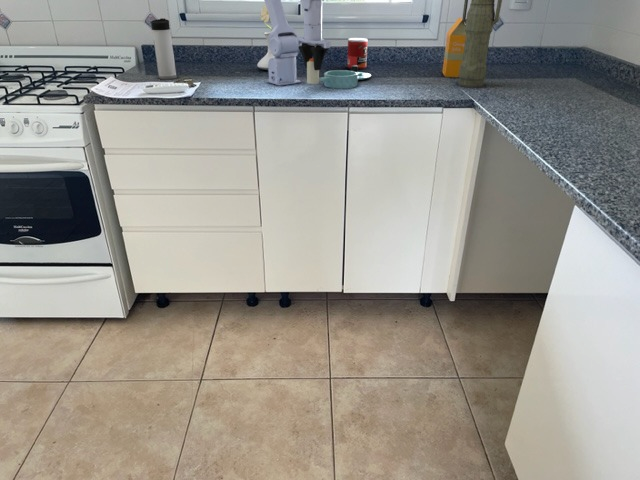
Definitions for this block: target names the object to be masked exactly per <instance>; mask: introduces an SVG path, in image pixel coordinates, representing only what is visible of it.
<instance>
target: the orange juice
mask: <svg viewBox="0 0 640 480" xmlns="http://www.w3.org/2000/svg"><path fill="white" fill-rule="evenodd" d="M462 21H463V17H458V18H457V19H456V21H455V22H454V23H453V24H452V26H451V27H450V28H449V30H447V32H446V39H445V47H444V55H443V65H442V74H443V76H444V77H445V78H459V69H460V65H461V63H462V59H463V52H464V44H465V37H466V32H465V26H466V24H465V22H462Z"/></svg>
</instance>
